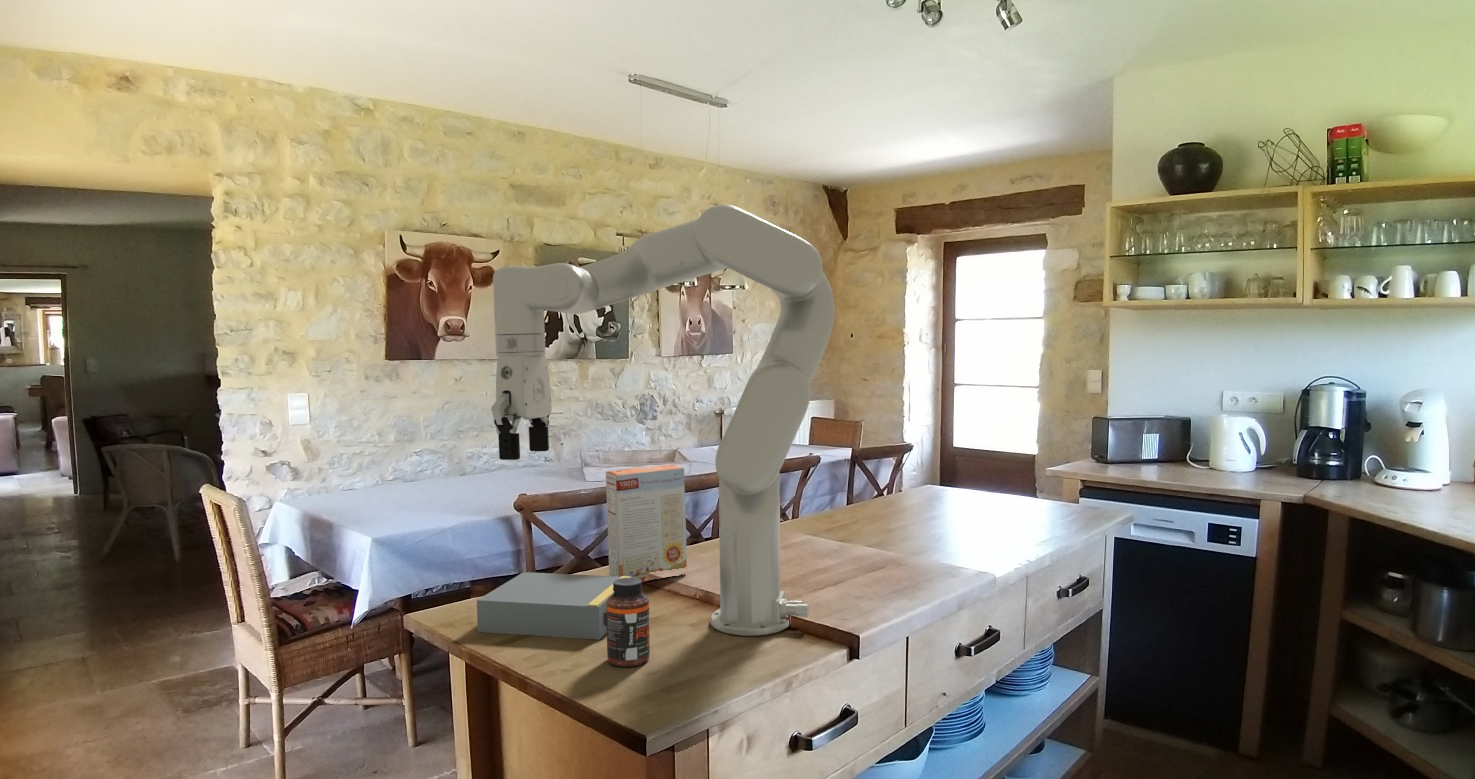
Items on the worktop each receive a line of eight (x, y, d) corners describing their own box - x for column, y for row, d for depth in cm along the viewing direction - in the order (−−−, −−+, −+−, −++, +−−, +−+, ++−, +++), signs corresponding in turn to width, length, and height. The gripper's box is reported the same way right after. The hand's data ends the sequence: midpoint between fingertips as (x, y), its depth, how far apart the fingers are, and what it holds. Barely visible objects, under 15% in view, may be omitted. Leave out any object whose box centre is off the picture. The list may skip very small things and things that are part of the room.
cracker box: (674, 568, 164) (672, 463, 163) (688, 576, 159) (686, 467, 158) (607, 579, 157) (604, 469, 156) (619, 587, 152) (616, 473, 151)
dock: (638, 606, 141) (637, 576, 140) (604, 639, 125) (603, 605, 125) (524, 600, 145) (523, 570, 145) (477, 631, 129) (476, 598, 129)
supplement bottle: (643, 669, 114) (641, 587, 113) (601, 667, 115) (599, 586, 114) (654, 653, 119) (653, 575, 119) (614, 651, 120) (613, 574, 120)
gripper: (515, 346, 121) (520, 463, 122) (566, 345, 138) (570, 448, 139) (469, 347, 123) (474, 463, 124) (525, 346, 140) (529, 448, 141)
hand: (525, 455), depth 131 cm, fingers open, 9 cm apart
